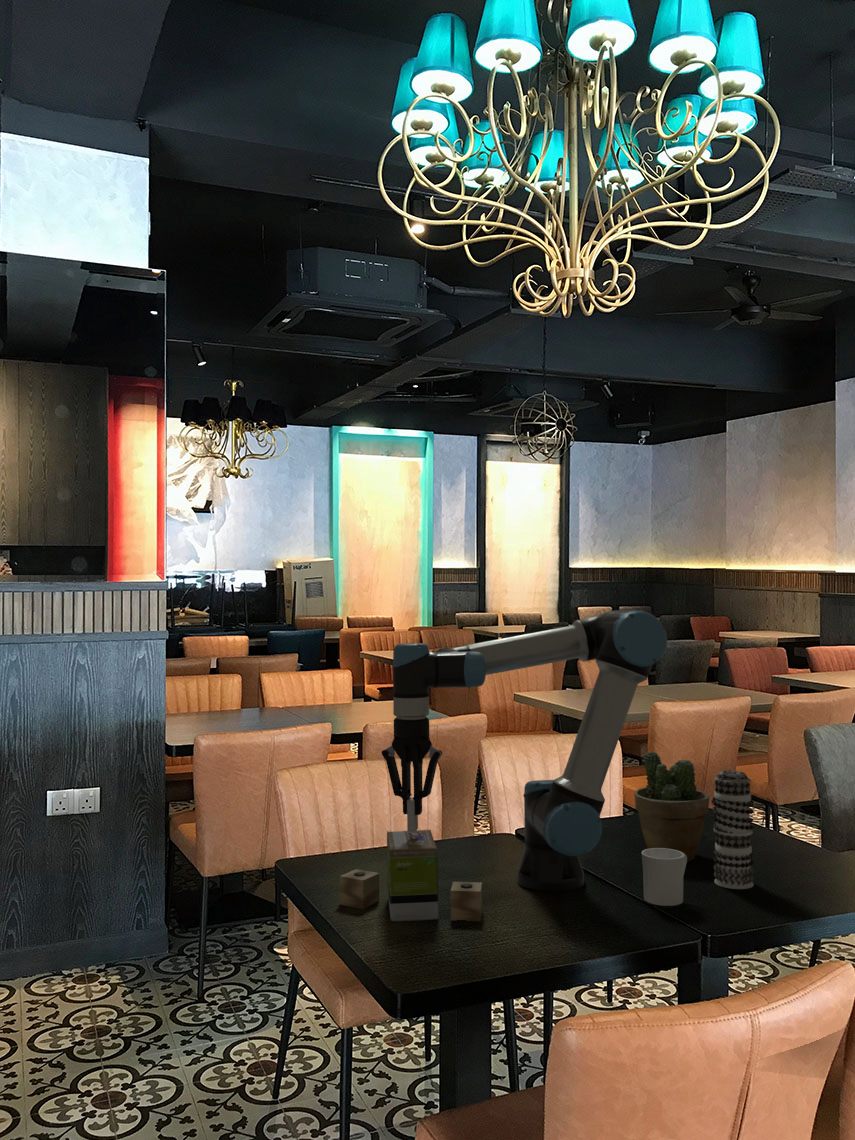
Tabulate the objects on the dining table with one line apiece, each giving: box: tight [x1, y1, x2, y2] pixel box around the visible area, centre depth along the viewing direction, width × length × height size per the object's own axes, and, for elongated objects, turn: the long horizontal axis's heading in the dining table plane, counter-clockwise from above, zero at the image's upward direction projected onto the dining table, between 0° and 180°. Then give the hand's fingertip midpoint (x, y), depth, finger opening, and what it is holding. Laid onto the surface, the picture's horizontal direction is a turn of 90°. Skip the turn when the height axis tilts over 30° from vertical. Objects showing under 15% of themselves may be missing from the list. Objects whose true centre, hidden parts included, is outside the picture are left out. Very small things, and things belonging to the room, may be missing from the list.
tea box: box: [386, 829, 439, 922], centre depth 196 cm, size 15×10×15 cm, turn 5°
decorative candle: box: [710, 769, 755, 890], centre depth 213 cm, size 9×9×25 cm
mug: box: [641, 848, 688, 909], centre depth 200 cm, size 11×9×10 cm
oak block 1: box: [339, 868, 380, 910], centre depth 200 cm, size 6×6×6 cm
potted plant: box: [634, 751, 710, 862], centre depth 236 cm, size 18×19×25 cm
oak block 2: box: [450, 881, 483, 922], centre depth 192 cm, size 6×6×6 cm
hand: (412, 830), depth 196 cm, fingers closed
